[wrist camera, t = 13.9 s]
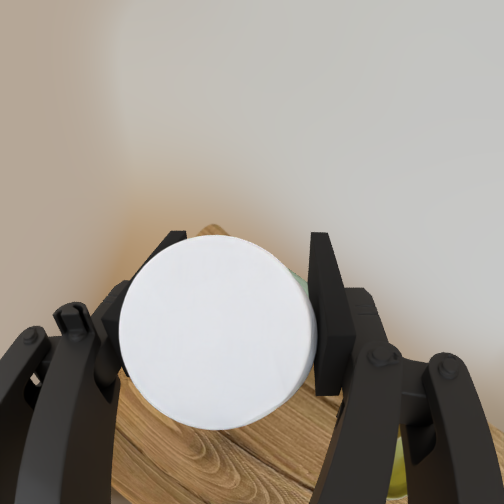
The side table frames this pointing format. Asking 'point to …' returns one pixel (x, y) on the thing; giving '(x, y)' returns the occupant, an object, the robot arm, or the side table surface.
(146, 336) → the pill bottle
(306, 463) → the side table surface
